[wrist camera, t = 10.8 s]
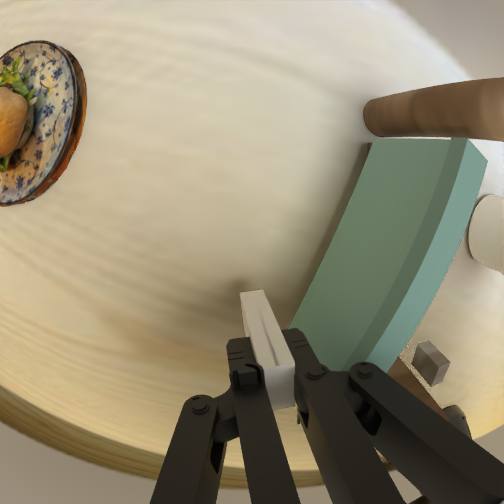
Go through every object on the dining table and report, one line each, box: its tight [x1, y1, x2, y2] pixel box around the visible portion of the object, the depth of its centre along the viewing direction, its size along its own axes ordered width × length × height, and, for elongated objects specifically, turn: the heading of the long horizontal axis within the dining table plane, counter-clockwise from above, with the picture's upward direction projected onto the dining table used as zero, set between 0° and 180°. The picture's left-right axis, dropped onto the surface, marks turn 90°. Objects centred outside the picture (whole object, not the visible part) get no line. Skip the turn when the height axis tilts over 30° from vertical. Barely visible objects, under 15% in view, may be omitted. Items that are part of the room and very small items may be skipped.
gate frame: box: [364, 77, 504, 421], centre depth 15 cm, size 21×4×11 cm, turn 5°
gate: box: [288, 138, 488, 373], centre depth 14 cm, size 14×2×8 cm, turn 158°
